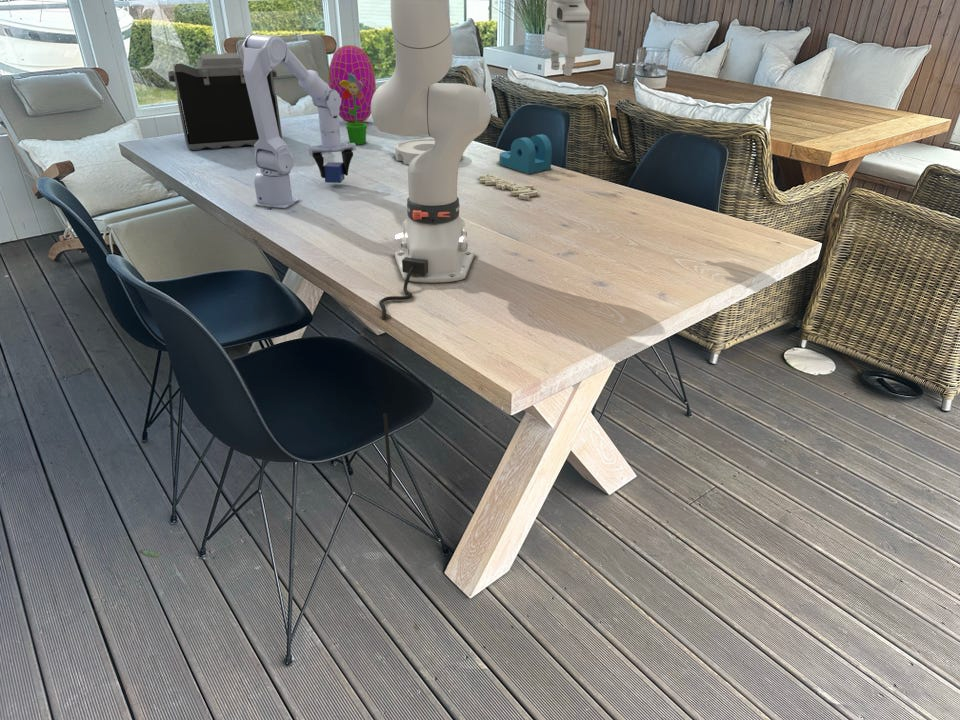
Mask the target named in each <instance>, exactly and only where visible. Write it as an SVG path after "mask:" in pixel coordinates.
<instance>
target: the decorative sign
mask: <svg viewBox="0 0 960 720" xmlns="http://www.w3.org/2000/svg"><path fill="white" fill-rule="evenodd" d="M479 183H480V184H485V186H495V187H496V189H501V190H503V191H504V190H510V196H515V197H516V196H518V199H521V200H526V201H527V200H530V197H537V196H538V193H539V191H538V190H535V189H534V185H533V184H519V183H515V182H513V181H510V180H508V179H504V178H501V177H500V176H497V175H493V174H491V173H485V174H484V175H482V174H479Z"/></svg>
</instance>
